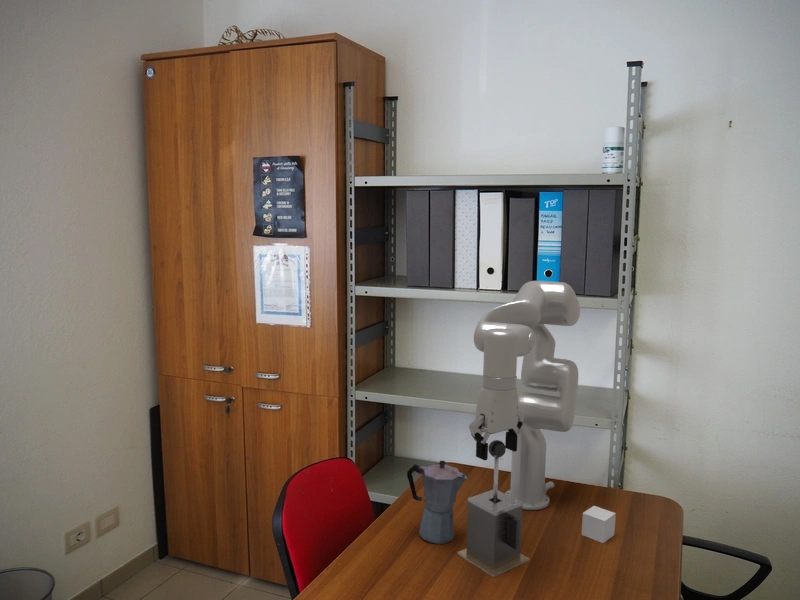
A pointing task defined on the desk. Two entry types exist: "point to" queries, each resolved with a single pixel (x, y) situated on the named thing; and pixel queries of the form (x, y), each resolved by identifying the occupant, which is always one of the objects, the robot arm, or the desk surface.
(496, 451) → the ball knob lever
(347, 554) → the desk surface
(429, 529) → the moka pot
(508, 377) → the robot arm
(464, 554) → the grey slotted box
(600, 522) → the white cube
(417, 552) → the desk surface
